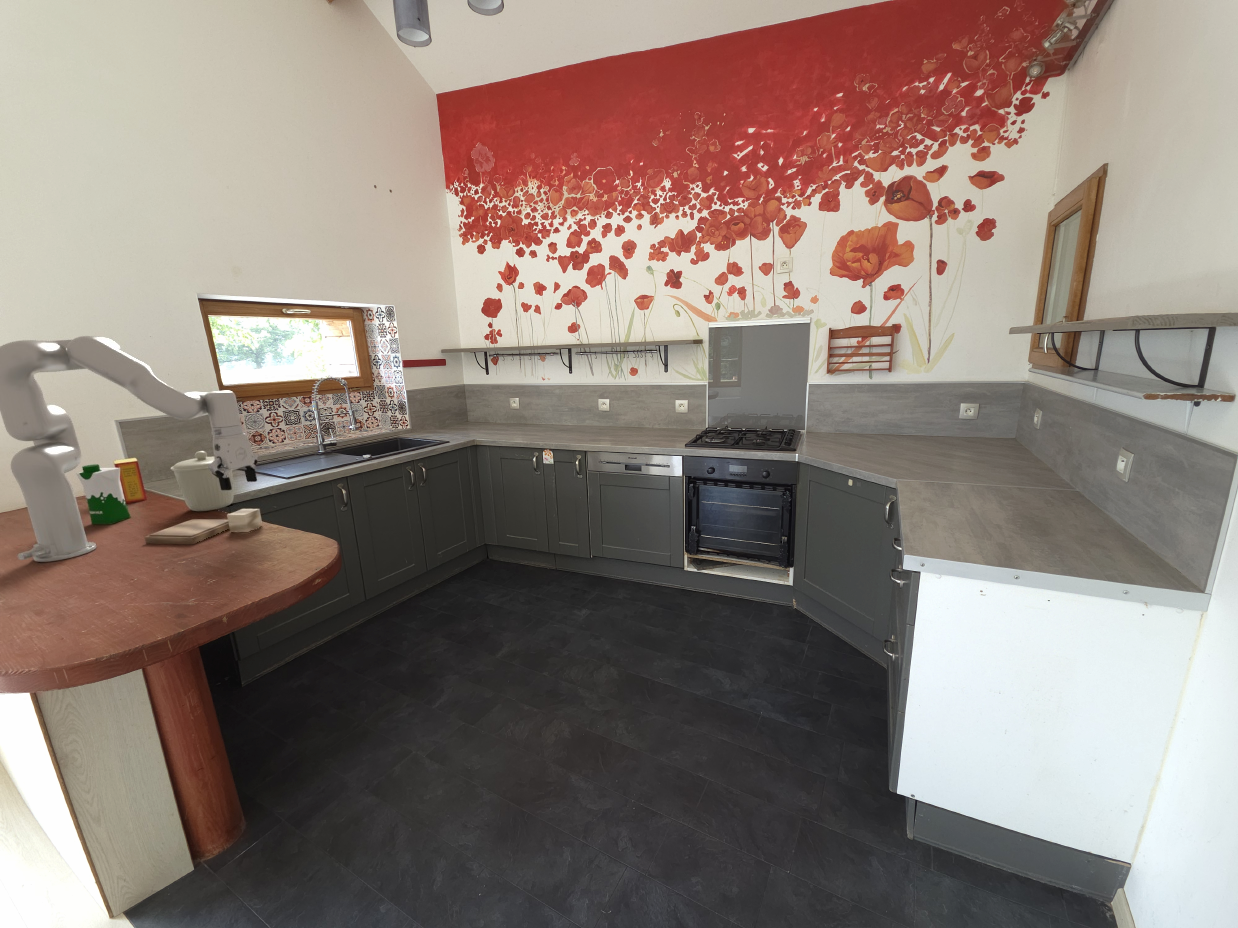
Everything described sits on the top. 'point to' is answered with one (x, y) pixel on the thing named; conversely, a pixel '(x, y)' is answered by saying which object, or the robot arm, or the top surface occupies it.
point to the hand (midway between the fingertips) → (239, 485)
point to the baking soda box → (131, 480)
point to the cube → (244, 520)
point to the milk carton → (104, 494)
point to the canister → (201, 484)
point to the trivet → (188, 532)
